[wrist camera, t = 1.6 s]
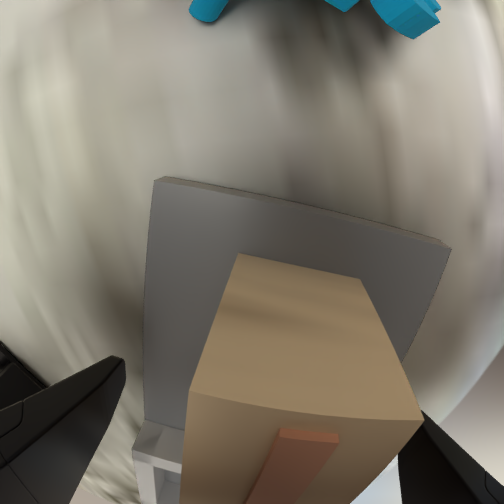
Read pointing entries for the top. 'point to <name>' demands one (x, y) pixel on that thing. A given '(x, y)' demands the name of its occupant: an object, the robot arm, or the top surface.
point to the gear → (385, 3)
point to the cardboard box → (293, 392)
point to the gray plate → (215, 280)
